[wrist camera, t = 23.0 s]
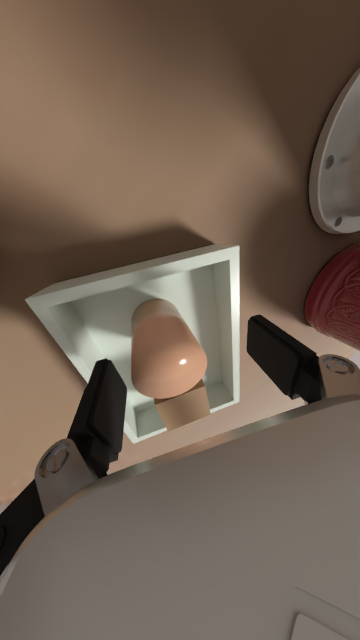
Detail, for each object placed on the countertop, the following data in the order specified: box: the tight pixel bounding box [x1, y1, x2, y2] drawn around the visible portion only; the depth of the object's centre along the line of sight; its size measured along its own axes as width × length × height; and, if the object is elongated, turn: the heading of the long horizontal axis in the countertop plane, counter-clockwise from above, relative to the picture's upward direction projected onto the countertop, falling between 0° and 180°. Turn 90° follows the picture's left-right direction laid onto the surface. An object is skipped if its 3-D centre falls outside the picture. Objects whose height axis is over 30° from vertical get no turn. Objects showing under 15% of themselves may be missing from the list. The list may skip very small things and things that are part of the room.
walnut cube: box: [154, 378, 211, 431], centre depth 18 cm, size 5×5×5 cm
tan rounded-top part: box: [131, 299, 207, 399], centre depth 13 cm, size 5×5×7 cm
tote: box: [24, 244, 239, 444], centre depth 17 cm, size 15×20×4 cm
